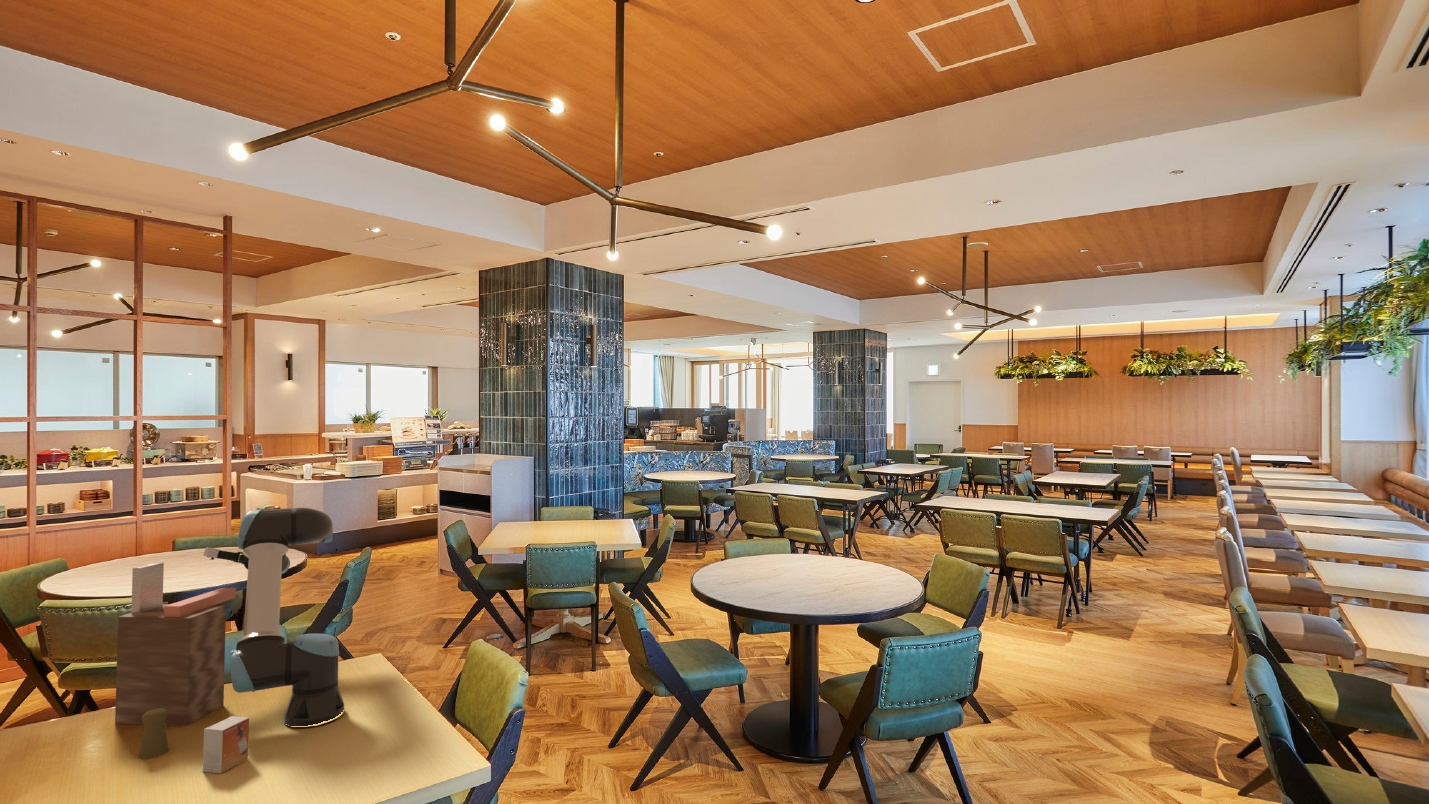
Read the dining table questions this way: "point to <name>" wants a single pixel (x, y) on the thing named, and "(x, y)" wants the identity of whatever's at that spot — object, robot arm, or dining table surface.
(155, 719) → the cork
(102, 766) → the dining table surface
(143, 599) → the bookend
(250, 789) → the dining table surface
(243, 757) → the small box
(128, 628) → the wooden block pedestal
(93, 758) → the dining table surface
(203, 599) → the terracotta clay brick
